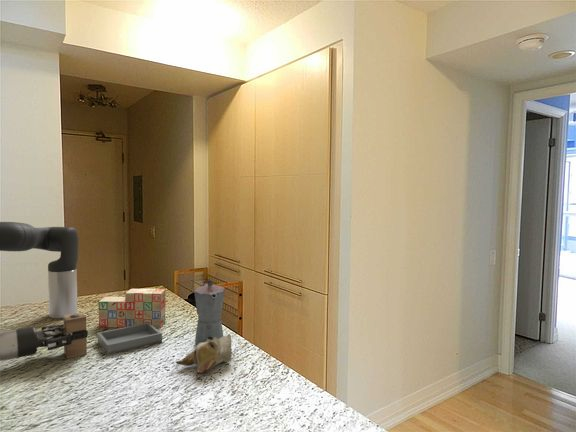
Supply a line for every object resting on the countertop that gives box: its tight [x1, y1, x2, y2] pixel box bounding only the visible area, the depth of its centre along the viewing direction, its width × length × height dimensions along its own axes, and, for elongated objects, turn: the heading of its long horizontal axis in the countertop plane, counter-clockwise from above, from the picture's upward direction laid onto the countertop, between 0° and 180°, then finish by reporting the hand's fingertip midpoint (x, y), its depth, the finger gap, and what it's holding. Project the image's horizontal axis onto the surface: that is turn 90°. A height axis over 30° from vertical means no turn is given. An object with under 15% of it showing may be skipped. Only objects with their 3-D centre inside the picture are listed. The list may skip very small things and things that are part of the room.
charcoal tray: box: [96, 323, 163, 356], centre depth 122 cm, size 12×16×3 cm
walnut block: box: [62, 312, 88, 359], centre depth 113 cm, size 5×5×11 cm
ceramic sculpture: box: [175, 333, 233, 376], centre depth 106 cm, size 11×9×15 cm
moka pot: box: [194, 280, 226, 346], centre depth 123 cm, size 10×15×20 cm, turn 27°
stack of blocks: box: [98, 288, 166, 329], centre depth 137 cm, size 21×6×12 cm, turn 93°
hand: (84, 330), depth 114 cm, fingers closed on walnut block, 5 cm apart
